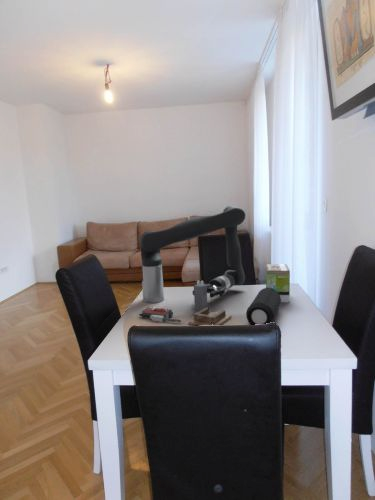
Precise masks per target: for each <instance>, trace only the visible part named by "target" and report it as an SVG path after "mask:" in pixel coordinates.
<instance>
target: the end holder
mask: <svg viewBox="0 0 375 500" xmlns="http://www.w3.org/2000/svg"><path fill="white" fill-rule="evenodd" d="M230 318H231V319H232V315H229V314H226V310H225V309H222V310H220V311H218V312H217V313H216V312H212V311H211V312H210V308H209V307H208V308H204V309H202V310H201V311H196V312H195V313H194V314H193V318H192V319H190V320H189V321H187V324H188V325H191V326H196V325H212V324H213V325H221V326H222V325H224V324H225V323H226V321H227V320H228V321H229V320H230ZM228 321H227V322H228ZM224 322H225V323H224ZM223 323H224V324H223Z"/></svg>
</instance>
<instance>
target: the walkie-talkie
mask: <svg viewBox="0 0 375 500" xmlns="http://www.w3.org/2000/svg"><path fill="white" fill-rule="evenodd" d="M138 316H139V317H142V318H143V319H151V320H152V321H153V322H159V323H163V322H176V323H177V322H178V323H182V320H181V319H178V318H177V319H175V318H171V317H173V316H174V312H173V310H172V309H169V308H168V307H166V306H157V307H154V306H151V307H148V306H147V307H146V308H145V309H143V310H142V311H141V313H139V314H138Z"/></svg>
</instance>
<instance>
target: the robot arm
mask: <svg viewBox="0 0 375 500" xmlns="http://www.w3.org/2000/svg"><path fill="white" fill-rule="evenodd" d="M245 219H246V212H245V211H244V209H243V208H241V207H240V206H239V207H238V206H235V205H228V206H226V207H225V208H224V209H223V210H222V212H220V213H216V214H212V215H203V216H196V217H193V218H189V219H186V220H184V221H182V222H179V223H177V224H175V225H173V226H171V227H170V228H169V227H168V228H166V229H162V230H157V231H153V230H146V231H144V232H143V233H142V234H141V236H140V240H139V247H140V257H141V264H142V279H143V280H142V281H141V287H142V288H141V289H142V300H143V301H145V302H146V303H152V304H153V303H161V302H163V301H164V299H165V295H164V294H165V293H164V291H165V290H164V280H163V279H164V278H163V264H162V263H163V261H162V255H161V249H163V248H166V247H168V246H170V245H172V244H173V245H174V244H176V243H181V242H186V241H189V240H193V239H196V238H199V237H202V236H205V235H207V234H211V233H214V232H216V231H218V230H219V231H220V230H222V229H224V232H225V240H226V241H225V242H226V263H227V266H228V267H230V268H233V269H234V270H232V269H228V270H226V271H225V272H224V273H223V274H222V275H221V276H217V277H215V278H213V279H211V280H210V281H209V282H208V283H207V295H209V298H211V299H212V298H214V297H218V296H219V297H223V296H224V295H226V294H227V292H228V291H227V290H229V289H231V288H232V287H234V285H236V286H242V285H244V283H245V280H246V276H245V275H246V274H245V271H244V268H243V264H242V250H241V244H240V240H239V235H238V234H239V233H238V226H240V225H242V223H244V221H245ZM192 295H193V296H194V289H193V290H192Z"/></svg>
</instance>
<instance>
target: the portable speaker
mask: <svg viewBox="0 0 375 500" xmlns="http://www.w3.org/2000/svg"><path fill="white" fill-rule="evenodd" d="M281 304H282V302H281V297H280V295H279V293H278V292H277V291H276V290H275V289H272V288H266V287H264V288H262V289H260V290H259V291H258V293H257V294H256V296H255V298H253V300H252V302H251V303H250V305H249V306H248V308H247V309H246V319H247V320H246V321H247V322H248V325H250V326H251V325H255V324H266V323H270V322H272V323H273V322H274V320H275V317H276V315H277V313H278V310H279V308H280V306H281Z"/></svg>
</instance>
